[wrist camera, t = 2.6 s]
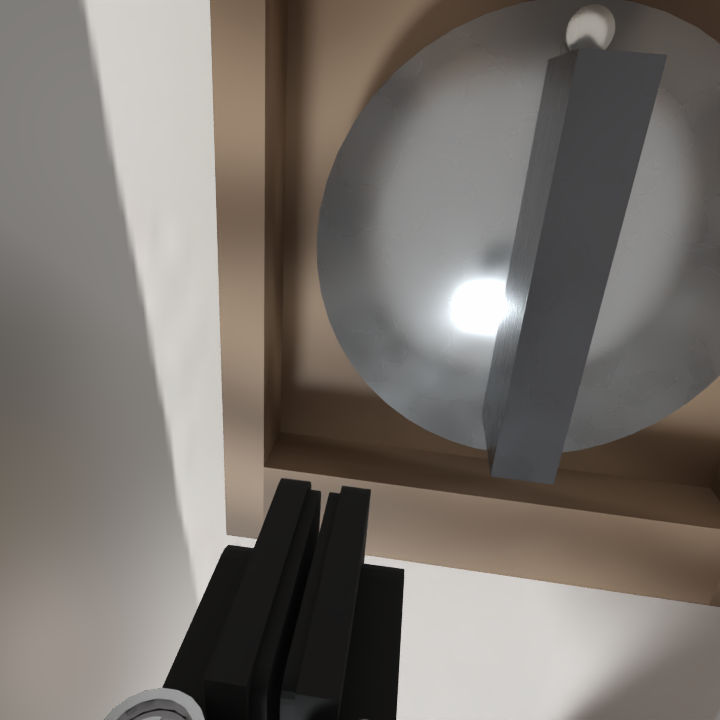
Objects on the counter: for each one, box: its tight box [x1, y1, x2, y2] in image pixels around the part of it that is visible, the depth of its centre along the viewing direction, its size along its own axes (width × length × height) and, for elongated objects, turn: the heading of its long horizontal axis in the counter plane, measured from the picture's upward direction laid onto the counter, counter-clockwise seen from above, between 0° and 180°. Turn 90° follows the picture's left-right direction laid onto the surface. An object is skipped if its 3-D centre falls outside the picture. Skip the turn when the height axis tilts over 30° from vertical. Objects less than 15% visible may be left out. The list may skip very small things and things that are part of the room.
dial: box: [317, 0, 720, 485], centre depth 17 cm, size 14×14×5 cm
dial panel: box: [210, 0, 720, 607], centre depth 19 cm, size 24×20×4 cm
